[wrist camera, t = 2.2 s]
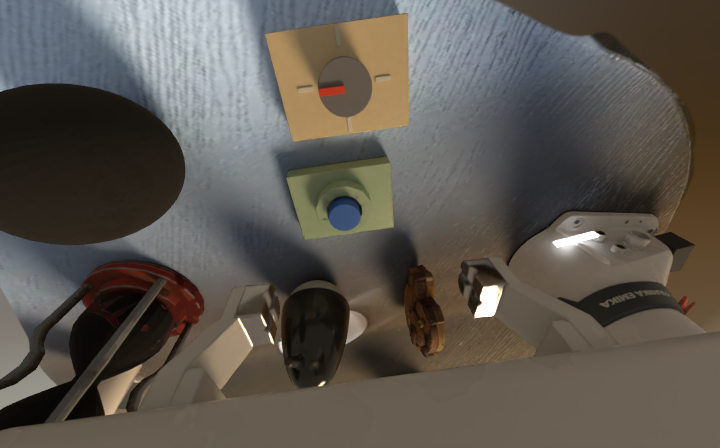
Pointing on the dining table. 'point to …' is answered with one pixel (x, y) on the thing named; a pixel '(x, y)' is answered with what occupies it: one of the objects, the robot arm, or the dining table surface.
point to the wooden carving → (423, 312)
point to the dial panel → (323, 43)
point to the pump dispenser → (314, 333)
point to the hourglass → (108, 339)
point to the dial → (345, 86)
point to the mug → (118, 389)
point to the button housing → (342, 195)
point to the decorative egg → (83, 165)
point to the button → (344, 214)
